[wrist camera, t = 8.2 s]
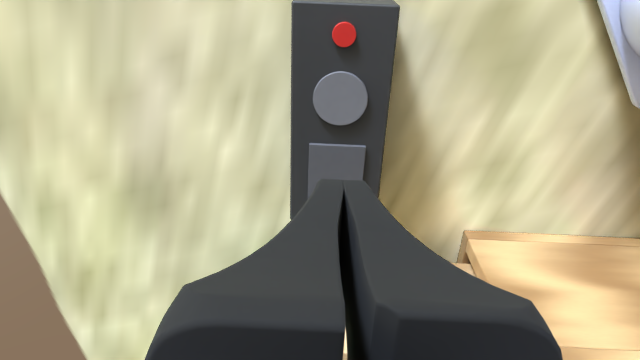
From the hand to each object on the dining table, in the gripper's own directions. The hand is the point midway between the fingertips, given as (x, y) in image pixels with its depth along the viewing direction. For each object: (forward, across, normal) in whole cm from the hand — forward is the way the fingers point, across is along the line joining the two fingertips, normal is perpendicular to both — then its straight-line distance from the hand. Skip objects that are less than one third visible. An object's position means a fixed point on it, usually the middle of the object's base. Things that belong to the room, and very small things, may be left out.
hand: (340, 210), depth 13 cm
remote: (+9, 0, 0) cm, 9 cm away
